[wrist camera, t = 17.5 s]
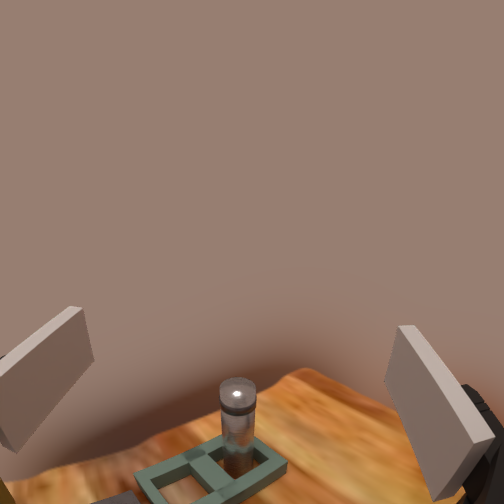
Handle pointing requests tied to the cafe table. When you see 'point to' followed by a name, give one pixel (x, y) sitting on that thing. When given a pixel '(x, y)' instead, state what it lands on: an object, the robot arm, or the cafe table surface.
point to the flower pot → (5, 494)
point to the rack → (212, 473)
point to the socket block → (120, 499)
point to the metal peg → (237, 425)
